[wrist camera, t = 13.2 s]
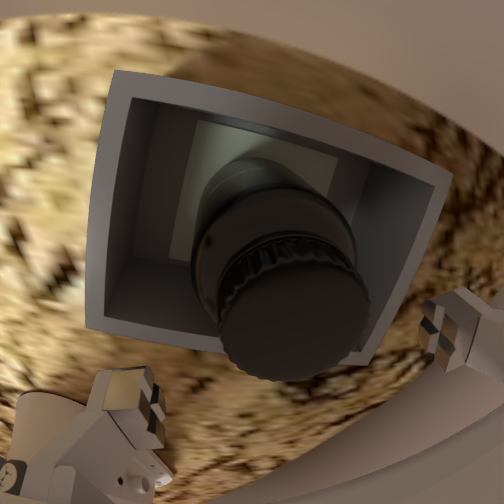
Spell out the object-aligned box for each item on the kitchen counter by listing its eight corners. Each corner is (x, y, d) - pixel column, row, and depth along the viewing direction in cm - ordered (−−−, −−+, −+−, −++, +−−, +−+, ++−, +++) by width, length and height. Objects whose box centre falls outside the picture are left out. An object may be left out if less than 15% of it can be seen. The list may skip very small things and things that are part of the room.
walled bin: (380, 151, 21) (453, 174, 13) (327, 297, 25) (367, 365, 18) (150, 86, 17) (114, 69, 10) (120, 260, 22) (85, 327, 14)
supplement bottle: (232, 135, 18) (267, 163, 7) (324, 190, 20) (439, 279, 9) (178, 231, 20) (150, 367, 9) (268, 275, 22) (319, 416, 11)
